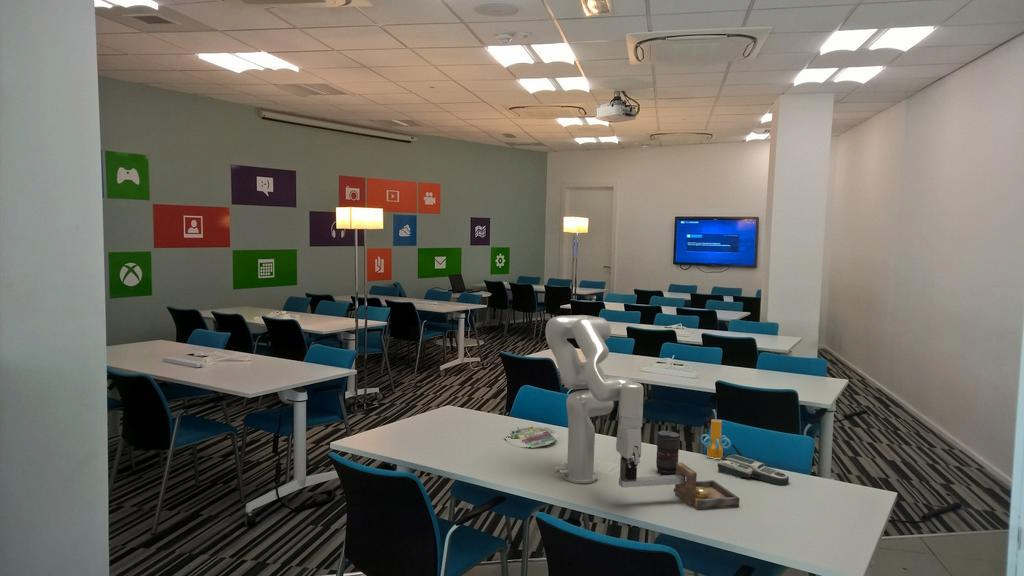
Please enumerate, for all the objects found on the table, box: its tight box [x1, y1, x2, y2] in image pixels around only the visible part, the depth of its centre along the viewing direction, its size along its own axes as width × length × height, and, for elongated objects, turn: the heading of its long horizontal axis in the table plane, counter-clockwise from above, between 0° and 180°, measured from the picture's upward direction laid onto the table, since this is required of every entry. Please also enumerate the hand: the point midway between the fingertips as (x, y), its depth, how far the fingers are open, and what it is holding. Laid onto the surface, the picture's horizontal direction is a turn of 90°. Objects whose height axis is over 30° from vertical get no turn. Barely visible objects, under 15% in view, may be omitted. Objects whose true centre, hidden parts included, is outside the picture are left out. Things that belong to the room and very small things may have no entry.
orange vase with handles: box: [700, 418, 732, 458], centre depth 255 cm, size 12×10×15 cm
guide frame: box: [673, 462, 740, 511], centre depth 211 cm, size 16×16×11 cm
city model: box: [505, 426, 559, 449], centre depth 271 cm, size 25×23×6 cm
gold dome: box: [696, 487, 708, 499], centre depth 211 cm, size 4×4×2 cm
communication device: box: [717, 443, 790, 486], centre depth 234 cm, size 12×24×9 cm, turn 48°
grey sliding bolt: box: [618, 458, 686, 489], centre depth 207 cm, size 22×4×8 cm, turn 103°
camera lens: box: [655, 430, 681, 476], centre depth 235 cm, size 8×8×15 cm
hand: (628, 476), depth 205 cm, fingers closed on grey sliding bolt, 4 cm apart
